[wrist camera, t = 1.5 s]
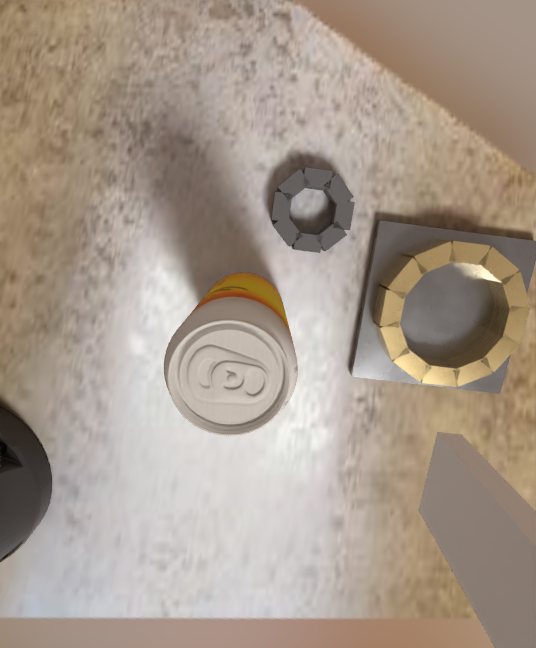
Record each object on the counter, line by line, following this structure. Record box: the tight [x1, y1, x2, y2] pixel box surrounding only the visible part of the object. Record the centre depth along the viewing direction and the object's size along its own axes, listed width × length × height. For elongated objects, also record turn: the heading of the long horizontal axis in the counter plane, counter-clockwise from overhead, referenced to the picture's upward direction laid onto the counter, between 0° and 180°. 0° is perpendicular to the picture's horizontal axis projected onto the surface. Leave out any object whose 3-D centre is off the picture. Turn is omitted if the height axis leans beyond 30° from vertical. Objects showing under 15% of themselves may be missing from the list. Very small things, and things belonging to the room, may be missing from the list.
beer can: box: [164, 273, 298, 436], centre depth 25 cm, size 6×6×15 cm
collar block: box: [350, 220, 536, 394], centre depth 31 cm, size 12×12×3 cm
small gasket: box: [271, 167, 355, 253], centre depth 30 cm, size 6×6×2 cm
